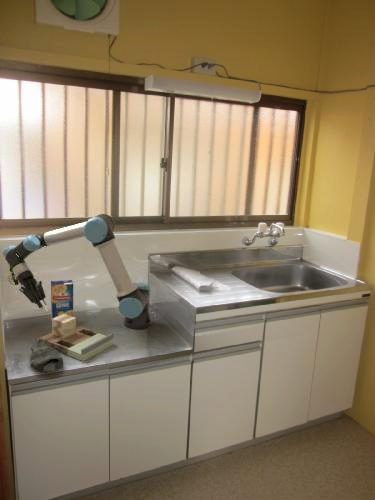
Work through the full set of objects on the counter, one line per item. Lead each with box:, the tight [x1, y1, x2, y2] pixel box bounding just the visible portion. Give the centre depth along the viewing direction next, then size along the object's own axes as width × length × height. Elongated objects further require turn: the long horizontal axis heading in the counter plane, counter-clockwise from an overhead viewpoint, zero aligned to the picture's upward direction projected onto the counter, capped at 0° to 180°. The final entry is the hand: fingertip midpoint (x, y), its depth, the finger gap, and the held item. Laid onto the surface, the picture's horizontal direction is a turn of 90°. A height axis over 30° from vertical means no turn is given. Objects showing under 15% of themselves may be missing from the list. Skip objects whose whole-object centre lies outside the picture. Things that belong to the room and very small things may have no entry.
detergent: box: [29, 338, 64, 373], centre depth 186 cm, size 13×7×25 cm
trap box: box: [39, 324, 99, 356], centre depth 206 cm, size 18×21×3 cm
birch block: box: [51, 314, 77, 338], centre depth 207 cm, size 8×8×8 cm
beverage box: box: [50, 279, 74, 320], centre depth 226 cm, size 7×11×22 cm, turn 111°
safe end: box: [67, 332, 114, 362], centre depth 199 cm, size 10×21×6 cm, turn 150°
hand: (46, 312), depth 211 cm, fingers closed
